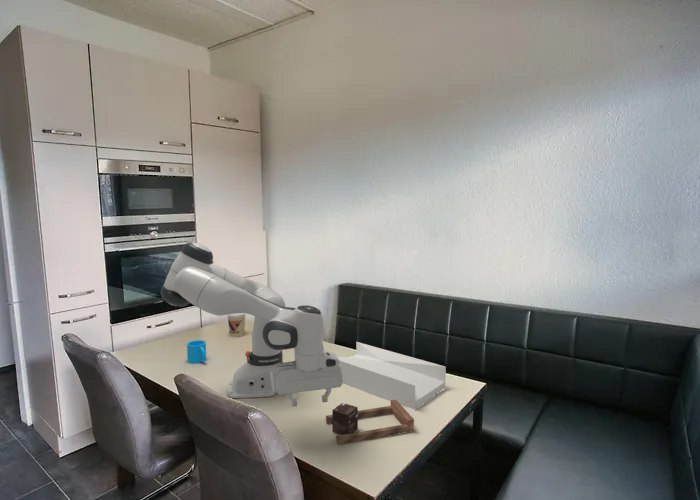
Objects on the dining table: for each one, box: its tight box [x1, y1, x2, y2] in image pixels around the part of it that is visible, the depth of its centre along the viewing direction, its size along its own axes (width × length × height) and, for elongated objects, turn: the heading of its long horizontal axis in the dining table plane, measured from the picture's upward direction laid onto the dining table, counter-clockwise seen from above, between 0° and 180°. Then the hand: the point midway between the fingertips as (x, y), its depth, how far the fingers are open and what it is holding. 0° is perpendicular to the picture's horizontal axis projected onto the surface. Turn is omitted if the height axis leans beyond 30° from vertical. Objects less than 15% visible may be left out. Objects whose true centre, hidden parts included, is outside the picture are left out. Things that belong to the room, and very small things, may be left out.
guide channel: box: [325, 400, 415, 446], centre depth 132 cm, size 25×14×4 cm, turn 107°
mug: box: [186, 339, 207, 365], centre depth 187 cm, size 12×8×8 cm
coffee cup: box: [227, 313, 246, 338], centre depth 225 cm, size 9×9×12 cm
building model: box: [336, 341, 447, 410], centre depth 165 cm, size 45×22×10 cm, turn 49°
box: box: [331, 402, 359, 435], centre depth 129 cm, size 6×6×7 cm
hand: (309, 403), depth 125 cm, fingers open, 8 cm apart
